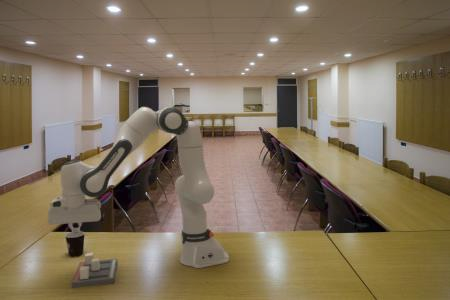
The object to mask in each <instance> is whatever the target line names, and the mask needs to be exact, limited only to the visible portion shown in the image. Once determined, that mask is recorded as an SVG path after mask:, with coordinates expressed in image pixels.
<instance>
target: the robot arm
mask: <svg viewBox="0 0 450 300" xmlns="http://www.w3.org/2000/svg"><path fill="white" fill-rule="evenodd" d="M155 130H160V131H162V132H163V133H167V134H172V135H175V137H176V139H177V152H178V154H177V155H178V164H179V167H180V169H181V170H182V171H181V172H182V174H183V175H180V176H179V177H177V178H176V180H175V182H174V188H175V190H176V193H177V197H178V201H179V206H180V210H181V219H182V221H181V222H182V223H181V224H182V225H181V226H182V229H181V243H182V245H181V246H182V247H181V254H180V259H179V262H180V263H181V264H182V265H184V266H188V267H193V268H194V269H201V268H203V269H204V268H207V267H213V266H216V265H222V264H226V263H228V262H229V261H230V256H229V254H228V253H227V252H226V251H225V250H224V247H223V245H222V243H221V242H220V241H219V240H217V239H215V237H214V232H212V230H211V229H209V228H208V225H207V223H208V221H207V211H206V209H205V206H204V205H206V204H208V203H210V202H211V201H212V200H213V199H214V196H215V189H214V187H213V184H212V183H211V181H210V179H209V174H208V172H207V168H206V165H205V157H204V144H203V143H204V142H203V137H202V132H201V128H200V125H199V124H198V123H197V122H195V121H191V120H188V119H187V117H186V116H185V115H184V113H183V112H182V111H181V110H180V109H178V108H176V107H172V106H166V107H163V108H160V109H158V110H155V111H154V110H153V109H152V108H150V107H148V106H141V107H140V108H138V109H137V110H136V111H134V112H132V114H131V115H130V116H129V117H128V118H127V119H126V121H125V122H124V123H123V124H122V125H121V127H120V129H119V130H118V132H117V134H116V136H115V139H114V142H113V145H112V147H111V148H110V150H109V151H108V153H107V155H106V156H105V157H104V159H102V161H101V162H100V163H99V164H98V166H93V165H90V164H88V163H85V162H84V161H82V160H79V159H78V160H77V159H75V160H71V161H68V162H65V163H64V164H63V165H62V166H61V169H60V184H61V187H62V188H61V189H62V191H61V196H59V197H56V198H54V199H52V200H51V201H50V203H49V207H50V208H49V209H48V212H47V223H48V224H49V225H50V226H51V225H52V226H53V225H64V224H66V225H68V227H69V228H70V230H71V232H72V233H80V231H81V227H82V225H83V223H90V222H91V223H92V222H99V221H100V220H101V217H102V213H101V208H102V203H101V201H100V199H97V198H98V197H101V196H102V195H103V194H104V193H105V192H106V191H107V189H108V185H109V182H110V179H111V177H112V176H113V174H114V173H115V172H116V171H117V169H118V168H119V167H120V166H121V164H122V163H123V162H124V161H125V159H126V158H127V157H128V156H131V154H132V153H133V152H134V151H136V150H137V149H139V147H140V146H141V145H142V144H143V143H144V142H145V141H146V140H147V139H148V137H149V136H150V135H151V133H153V132H154V131H155ZM86 196H87V197H90V198H87V199H86ZM74 224H77V225H78V227H74V226H73V225H74Z"/></svg>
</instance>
